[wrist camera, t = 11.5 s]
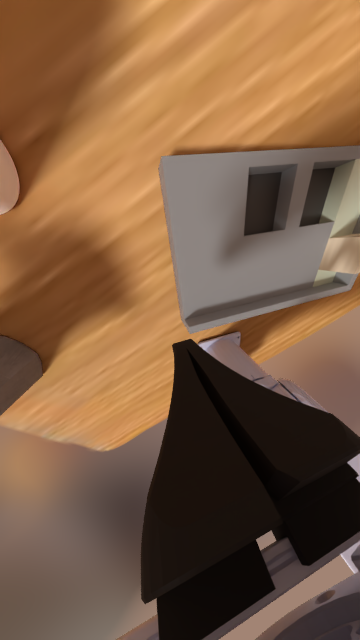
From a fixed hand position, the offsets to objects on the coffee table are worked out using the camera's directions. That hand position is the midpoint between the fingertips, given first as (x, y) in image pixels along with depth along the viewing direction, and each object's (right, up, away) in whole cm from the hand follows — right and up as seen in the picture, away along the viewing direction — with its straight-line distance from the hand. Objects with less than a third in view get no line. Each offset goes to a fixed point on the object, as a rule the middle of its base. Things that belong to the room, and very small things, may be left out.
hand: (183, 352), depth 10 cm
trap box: (+11, +12, +9) cm, 19 cm away
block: (+22, +12, +10) cm, 27 cm away
